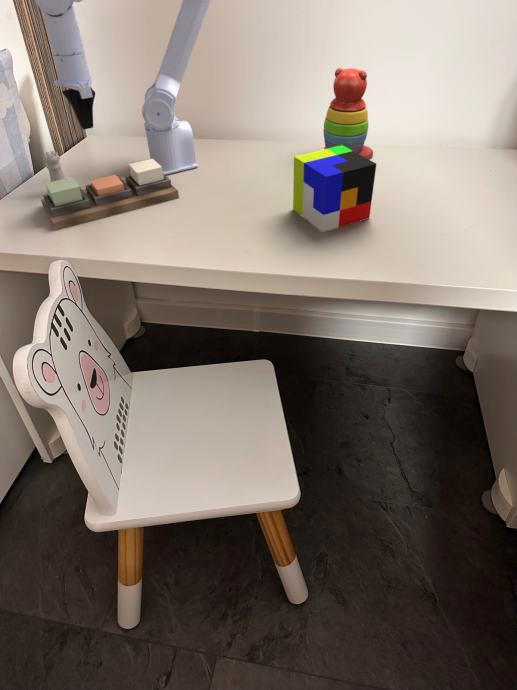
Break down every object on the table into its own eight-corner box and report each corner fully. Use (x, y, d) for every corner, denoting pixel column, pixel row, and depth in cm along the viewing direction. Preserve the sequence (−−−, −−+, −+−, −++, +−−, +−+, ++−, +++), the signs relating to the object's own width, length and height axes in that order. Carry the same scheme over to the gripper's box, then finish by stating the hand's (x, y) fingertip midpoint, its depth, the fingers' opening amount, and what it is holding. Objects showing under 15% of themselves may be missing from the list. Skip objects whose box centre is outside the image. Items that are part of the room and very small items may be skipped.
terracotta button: (118, 186, 99) (115, 174, 97) (126, 196, 96) (123, 183, 94) (93, 192, 97) (90, 180, 95) (100, 202, 94) (97, 189, 92)
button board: (158, 178, 105) (156, 164, 103) (179, 197, 98) (176, 183, 96) (43, 206, 97) (38, 192, 95) (55, 230, 90) (50, 215, 88)
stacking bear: (375, 154, 112) (387, 65, 100) (357, 170, 105) (366, 77, 93) (332, 146, 116) (337, 60, 104) (311, 161, 110) (315, 71, 98)
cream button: (154, 170, 101) (152, 158, 99) (163, 179, 97) (161, 167, 96) (131, 176, 99) (128, 164, 97) (139, 185, 96) (137, 172, 94)
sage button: (76, 189, 95) (72, 177, 93) (82, 199, 92) (79, 186, 90) (49, 196, 93) (45, 183, 92) (55, 206, 90) (51, 193, 88)
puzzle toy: (322, 232, 86) (325, 176, 80) (293, 209, 93) (294, 156, 86) (369, 218, 89) (376, 163, 83) (337, 197, 96) (341, 145, 90)
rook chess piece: (66, 198, 99) (54, 158, 94) (46, 196, 100) (33, 157, 95) (77, 188, 103) (66, 149, 97) (57, 187, 103) (45, 148, 98)
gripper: (39, 48, 97) (59, 121, 106) (55, 63, 87) (76, 142, 96) (75, 43, 99) (92, 115, 108) (95, 57, 90) (112, 134, 99)
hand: (87, 127), depth 102 cm, fingers closed
